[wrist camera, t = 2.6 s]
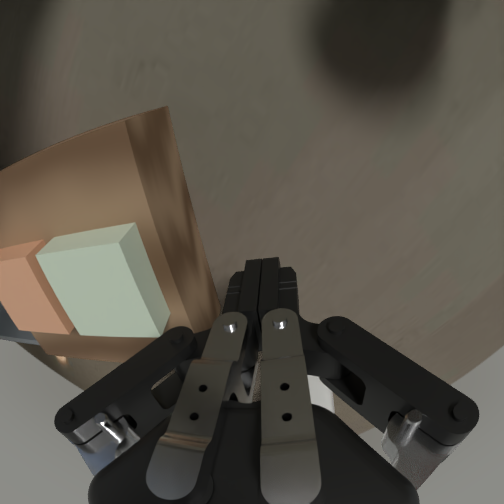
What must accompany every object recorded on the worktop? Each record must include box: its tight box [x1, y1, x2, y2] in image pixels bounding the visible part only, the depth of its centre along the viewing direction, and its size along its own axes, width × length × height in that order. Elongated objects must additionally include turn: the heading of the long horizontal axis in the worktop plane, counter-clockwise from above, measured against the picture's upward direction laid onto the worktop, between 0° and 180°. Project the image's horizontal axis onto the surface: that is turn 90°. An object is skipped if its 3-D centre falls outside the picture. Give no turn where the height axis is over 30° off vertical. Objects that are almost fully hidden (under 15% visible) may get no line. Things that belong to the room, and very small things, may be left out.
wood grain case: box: [0, 106, 221, 363], centre depth 20 cm, size 16×16×6 cm
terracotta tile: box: [0, 239, 75, 335], centre depth 17 cm, size 6×6×2 cm
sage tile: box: [35, 222, 170, 337], centre depth 16 cm, size 6×6×2 cm
